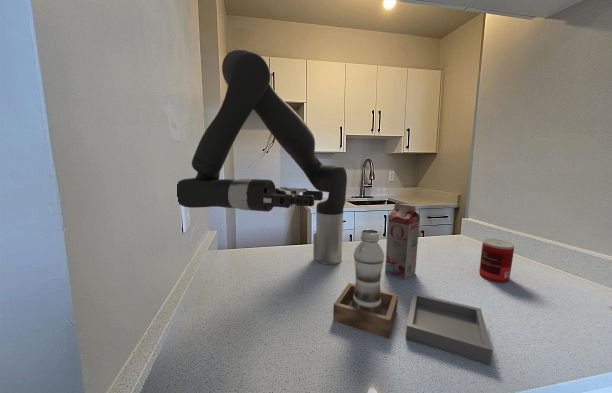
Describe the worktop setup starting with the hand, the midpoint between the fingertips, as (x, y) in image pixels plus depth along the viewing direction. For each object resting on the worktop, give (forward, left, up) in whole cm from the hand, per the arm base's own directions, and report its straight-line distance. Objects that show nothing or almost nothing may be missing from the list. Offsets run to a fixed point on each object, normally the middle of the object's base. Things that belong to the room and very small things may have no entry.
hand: (318, 198), depth 57 cm
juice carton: (+15, +30, -27) cm, 43 cm away
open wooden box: (+11, +3, -27) cm, 29 cm away
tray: (+27, +6, -27) cm, 39 cm away
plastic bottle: (+11, +3, -27) cm, 29 cm away
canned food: (+41, +41, -27) cm, 64 cm away
